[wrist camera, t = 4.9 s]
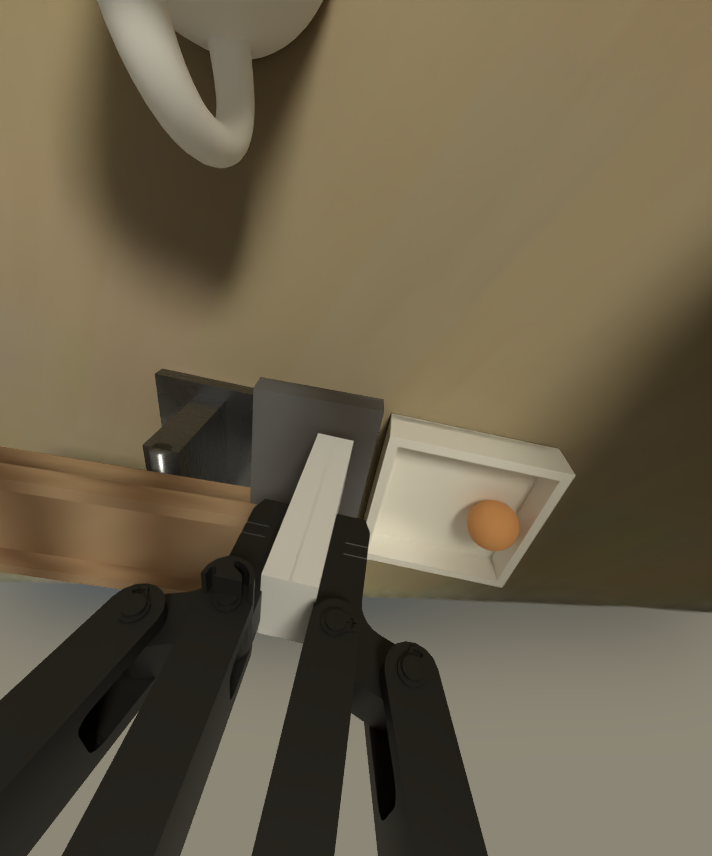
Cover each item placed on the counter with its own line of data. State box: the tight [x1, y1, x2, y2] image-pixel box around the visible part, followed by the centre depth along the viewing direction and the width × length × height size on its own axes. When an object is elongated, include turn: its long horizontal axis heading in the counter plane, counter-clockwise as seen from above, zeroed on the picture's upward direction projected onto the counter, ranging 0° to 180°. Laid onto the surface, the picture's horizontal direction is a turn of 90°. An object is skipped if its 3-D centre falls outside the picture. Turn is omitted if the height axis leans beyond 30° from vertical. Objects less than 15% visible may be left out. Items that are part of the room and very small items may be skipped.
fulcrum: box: [143, 369, 253, 488], centre depth 23 cm, size 7×10×7 cm
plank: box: [0, 377, 384, 594], centre depth 17 cm, size 20×13×3 cm, turn 80°
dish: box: [363, 413, 576, 588], centre depth 24 cm, size 11×11×3 cm
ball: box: [467, 500, 520, 551], centre depth 24 cm, size 3×3×3 cm
